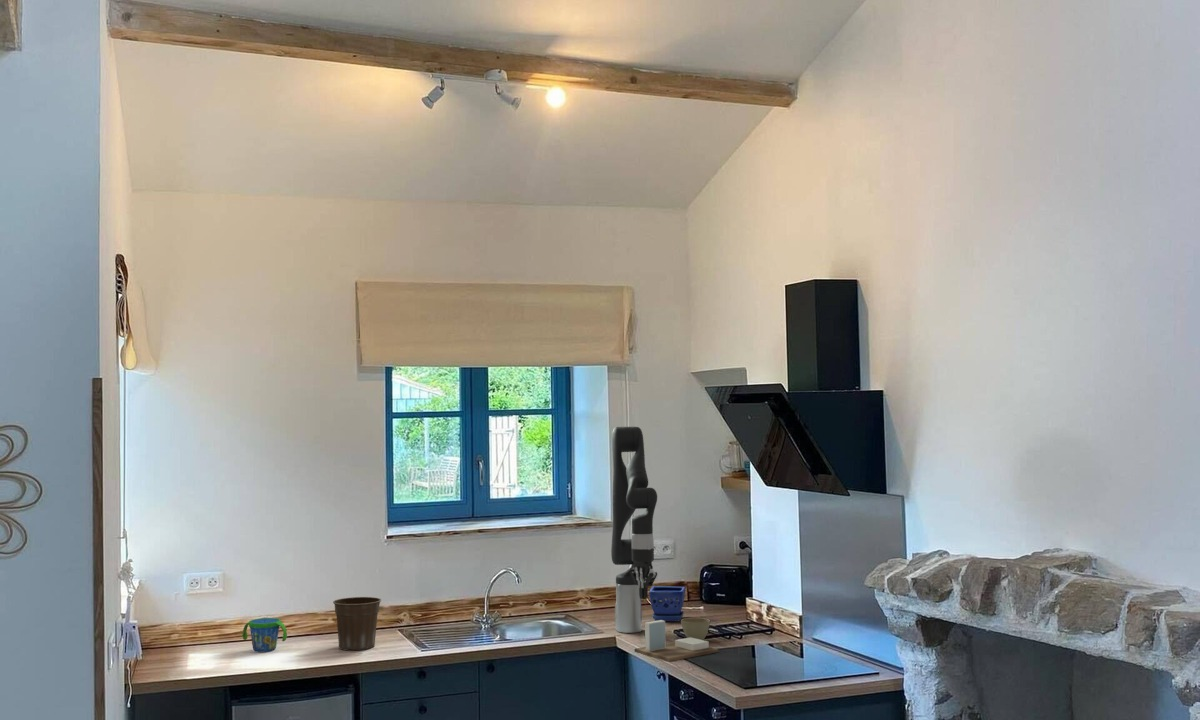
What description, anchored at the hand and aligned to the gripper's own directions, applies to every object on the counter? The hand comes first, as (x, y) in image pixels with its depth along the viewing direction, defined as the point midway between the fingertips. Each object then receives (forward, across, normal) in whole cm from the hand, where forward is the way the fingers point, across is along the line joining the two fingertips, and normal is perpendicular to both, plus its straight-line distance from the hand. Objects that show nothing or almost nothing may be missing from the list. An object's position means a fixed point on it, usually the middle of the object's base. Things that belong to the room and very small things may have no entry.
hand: (643, 598), depth 352 cm
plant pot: (+17, -67, -74) cm, 101 cm away
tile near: (+16, +6, 0) cm, 17 cm away
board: (+17, +10, +6) cm, 20 cm away
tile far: (+15, +7, +11) cm, 20 cm away
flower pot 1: (+17, -36, +40) cm, 57 cm away
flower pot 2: (+17, +1, +22) cm, 28 cm away
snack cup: (+17, -83, -101) cm, 132 cm away
